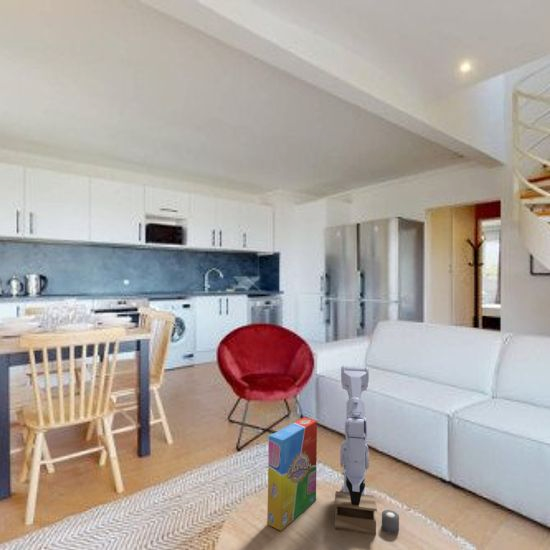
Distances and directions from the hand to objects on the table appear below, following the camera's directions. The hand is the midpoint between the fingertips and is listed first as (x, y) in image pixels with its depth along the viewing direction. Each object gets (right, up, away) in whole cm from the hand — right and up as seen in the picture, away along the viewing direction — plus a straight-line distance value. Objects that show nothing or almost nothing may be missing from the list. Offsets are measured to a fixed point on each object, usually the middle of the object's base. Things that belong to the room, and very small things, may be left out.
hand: (355, 502), depth 114 cm
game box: (-19, -7, +7) cm, 21 cm away
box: (+1, -7, +3) cm, 8 cm away
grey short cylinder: (+11, -7, -1) cm, 13 cm away
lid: (+1, -2, +3) cm, 4 cm away
